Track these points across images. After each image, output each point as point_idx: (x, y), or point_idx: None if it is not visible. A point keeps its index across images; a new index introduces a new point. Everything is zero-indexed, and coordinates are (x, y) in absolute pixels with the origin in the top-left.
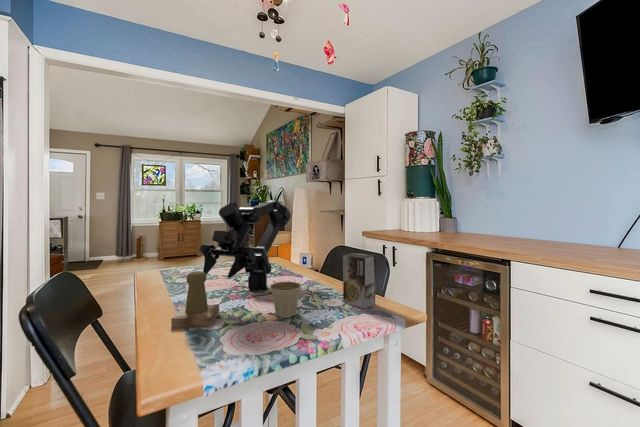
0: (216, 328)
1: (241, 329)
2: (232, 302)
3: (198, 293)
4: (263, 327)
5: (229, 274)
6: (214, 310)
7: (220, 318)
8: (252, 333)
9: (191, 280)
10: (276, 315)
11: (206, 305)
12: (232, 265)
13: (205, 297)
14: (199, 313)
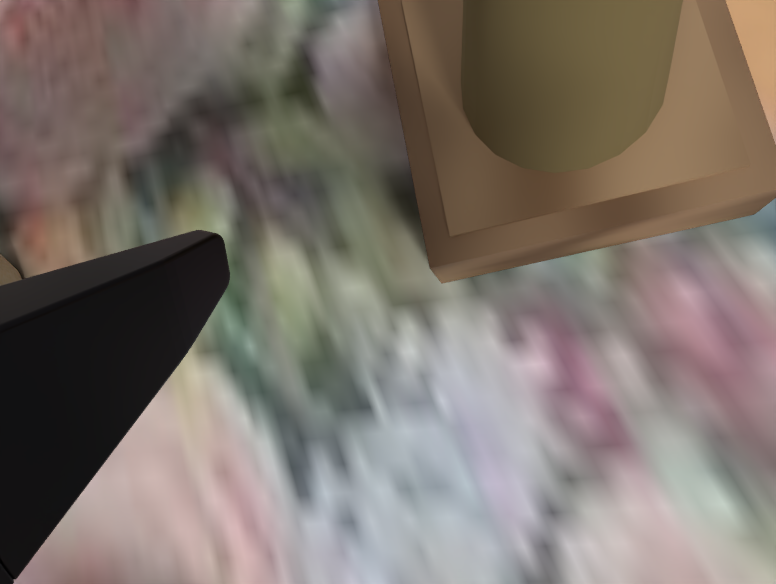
0: (338, 18)
1: (186, 42)
2: (431, 576)
3: None
4: (75, 95)
5: (171, 237)
6: (404, 119)
7: (381, 174)
8: (117, 11)
9: None
10: (15, 269)
11: (462, 66)
12: (14, 318)
13: (464, 17)
14: None
